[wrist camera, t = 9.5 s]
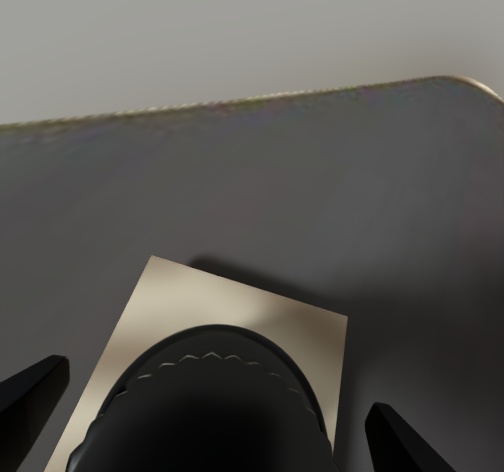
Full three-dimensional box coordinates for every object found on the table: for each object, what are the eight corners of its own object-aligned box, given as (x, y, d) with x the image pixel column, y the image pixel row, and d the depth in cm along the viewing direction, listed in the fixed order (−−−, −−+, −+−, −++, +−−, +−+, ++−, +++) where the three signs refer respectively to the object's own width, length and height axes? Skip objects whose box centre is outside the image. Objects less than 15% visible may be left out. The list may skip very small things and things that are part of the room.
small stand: (292, 573, 15) (313, 630, 12) (56, 497, 15) (13, 532, 12) (328, 323, 21) (347, 316, 18) (161, 271, 21) (151, 255, 18)
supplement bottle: (251, 323, 17) (312, 258, 6) (294, 447, 14) (527, 707, 4) (140, 365, 15) (-49, 376, 4) (167, 514, 13) (-120, 1392, 2)
